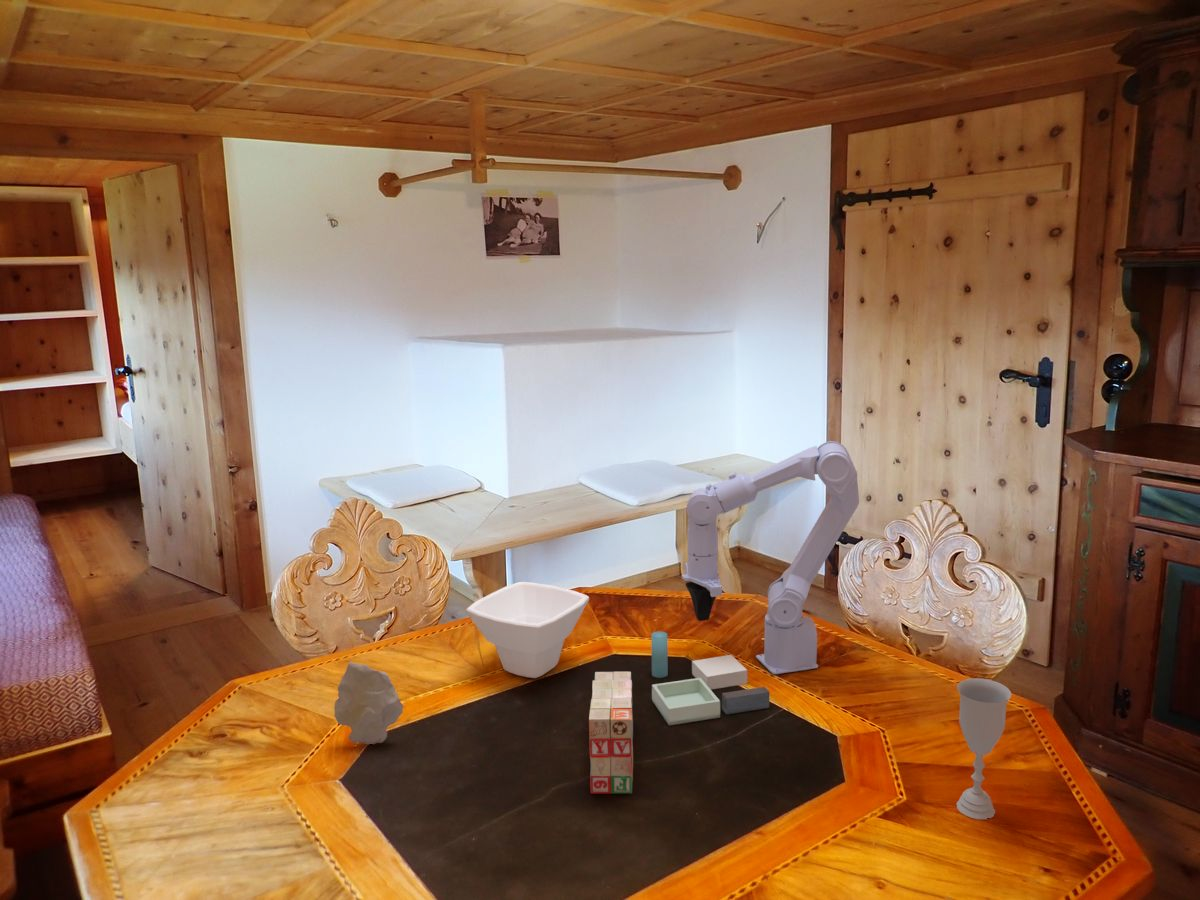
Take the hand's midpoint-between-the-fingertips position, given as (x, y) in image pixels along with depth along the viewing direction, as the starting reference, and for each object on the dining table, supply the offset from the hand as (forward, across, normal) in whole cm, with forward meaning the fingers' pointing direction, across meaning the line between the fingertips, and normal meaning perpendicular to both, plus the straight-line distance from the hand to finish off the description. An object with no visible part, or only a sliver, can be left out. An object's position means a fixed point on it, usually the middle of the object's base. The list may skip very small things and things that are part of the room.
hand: (702, 619), depth 172 cm
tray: (+8, +18, -10) cm, 22 cm away
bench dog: (+8, +20, 0) cm, 22 cm away
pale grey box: (+9, +8, 0) cm, 12 cm away
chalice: (+9, +56, +19) cm, 60 cm away
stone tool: (+9, +14, -63) cm, 65 cm away
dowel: (+8, +4, -10) cm, 14 cm away
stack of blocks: (+9, +28, -26) cm, 39 cm away
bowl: (+9, -6, -33) cm, 35 cm away
